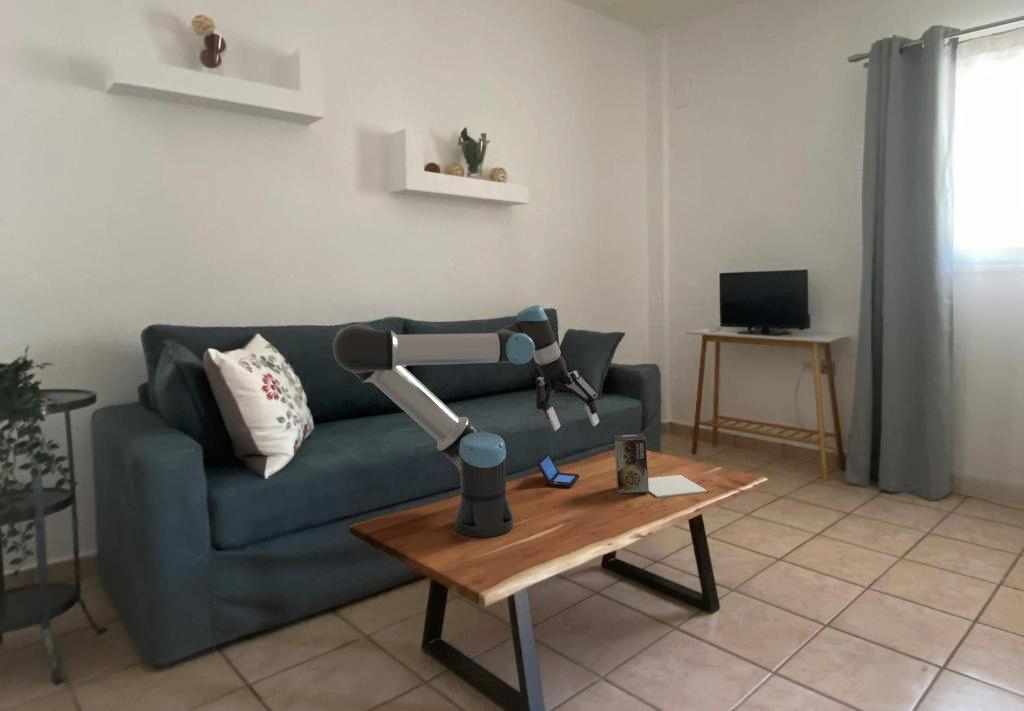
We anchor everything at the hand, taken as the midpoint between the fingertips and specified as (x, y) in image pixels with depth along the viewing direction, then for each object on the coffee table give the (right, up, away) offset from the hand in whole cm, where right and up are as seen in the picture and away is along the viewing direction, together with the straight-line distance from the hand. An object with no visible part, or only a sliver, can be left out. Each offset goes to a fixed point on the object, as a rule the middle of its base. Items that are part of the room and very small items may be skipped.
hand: (576, 426), depth 191 cm
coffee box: (+17, -20, +8) cm, 28 cm away
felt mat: (+29, -19, +11) cm, 36 cm away
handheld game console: (-4, -19, +18) cm, 27 cm away
